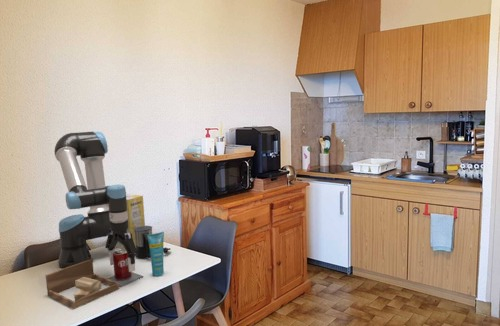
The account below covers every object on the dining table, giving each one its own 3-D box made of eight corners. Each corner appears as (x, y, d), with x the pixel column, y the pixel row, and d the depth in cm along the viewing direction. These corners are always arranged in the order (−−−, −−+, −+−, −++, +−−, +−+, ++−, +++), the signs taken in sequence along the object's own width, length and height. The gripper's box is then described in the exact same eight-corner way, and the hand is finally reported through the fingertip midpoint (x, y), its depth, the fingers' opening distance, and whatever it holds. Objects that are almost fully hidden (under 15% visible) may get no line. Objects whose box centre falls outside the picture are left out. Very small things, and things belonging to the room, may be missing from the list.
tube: (152, 277, 174) (149, 236, 172) (148, 274, 178) (145, 233, 176) (168, 273, 178) (165, 232, 176) (164, 270, 182) (161, 230, 180)
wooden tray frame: (47, 295, 160) (45, 274, 159) (92, 278, 176) (90, 259, 175) (74, 309, 148) (71, 286, 147) (119, 288, 164) (117, 268, 163)
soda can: (111, 279, 173) (108, 252, 171) (124, 273, 179) (122, 247, 177) (122, 282, 169) (120, 255, 167) (135, 276, 175) (133, 250, 173)
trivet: (103, 281, 173) (103, 279, 172) (126, 271, 182) (126, 270, 182) (120, 287, 165) (120, 285, 165) (143, 277, 175) (143, 275, 175)
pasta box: (108, 246, 219) (104, 197, 215) (123, 240, 228) (119, 193, 224) (132, 251, 210) (128, 199, 206) (146, 245, 219) (142, 195, 215)
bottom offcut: (75, 303, 154) (74, 294, 153) (90, 289, 166) (89, 281, 165) (87, 303, 153) (86, 294, 153) (101, 289, 165) (100, 281, 165)
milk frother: (132, 256, 202) (130, 228, 200) (157, 248, 213) (156, 221, 211) (148, 262, 192) (146, 233, 190) (174, 253, 204) (172, 225, 202)
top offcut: (91, 291, 155) (90, 284, 155) (75, 287, 160) (75, 280, 159) (99, 287, 159) (98, 280, 158) (84, 283, 163) (83, 276, 163)
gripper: (94, 218, 175) (98, 264, 178) (129, 227, 160) (133, 276, 163) (109, 214, 181) (113, 258, 184) (144, 222, 166) (147, 270, 169)
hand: (122, 267), depth 173 cm, fingers open, 13 cm apart
